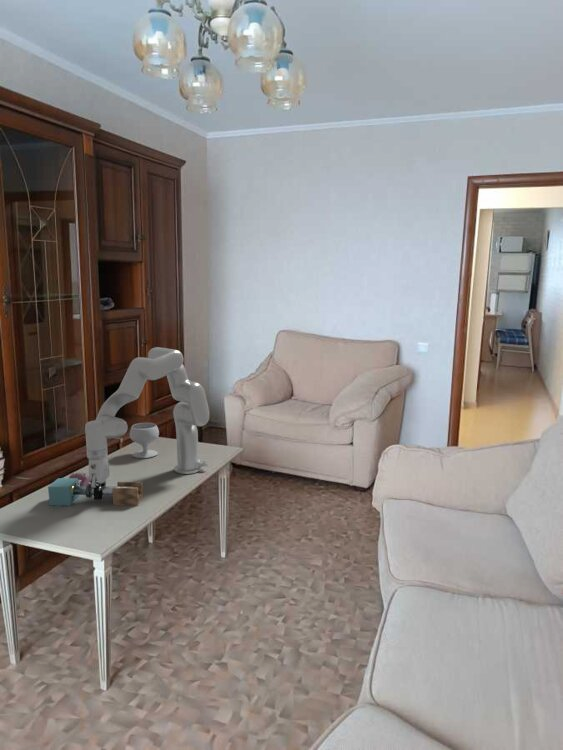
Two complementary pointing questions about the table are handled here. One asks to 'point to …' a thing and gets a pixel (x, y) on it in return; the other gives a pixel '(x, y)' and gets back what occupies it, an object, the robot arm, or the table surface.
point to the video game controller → (81, 478)
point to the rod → (91, 490)
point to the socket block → (62, 491)
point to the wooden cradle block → (127, 493)
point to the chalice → (144, 438)
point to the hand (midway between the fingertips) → (100, 496)
